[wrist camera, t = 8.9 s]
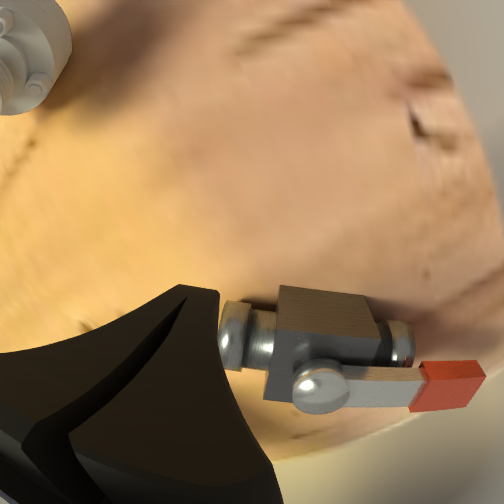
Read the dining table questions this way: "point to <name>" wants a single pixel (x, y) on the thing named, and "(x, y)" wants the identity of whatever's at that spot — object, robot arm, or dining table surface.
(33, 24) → the grey rounded housing
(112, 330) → the robot arm
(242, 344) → the pipe valve
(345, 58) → the dining table surface
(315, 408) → the valve lever
